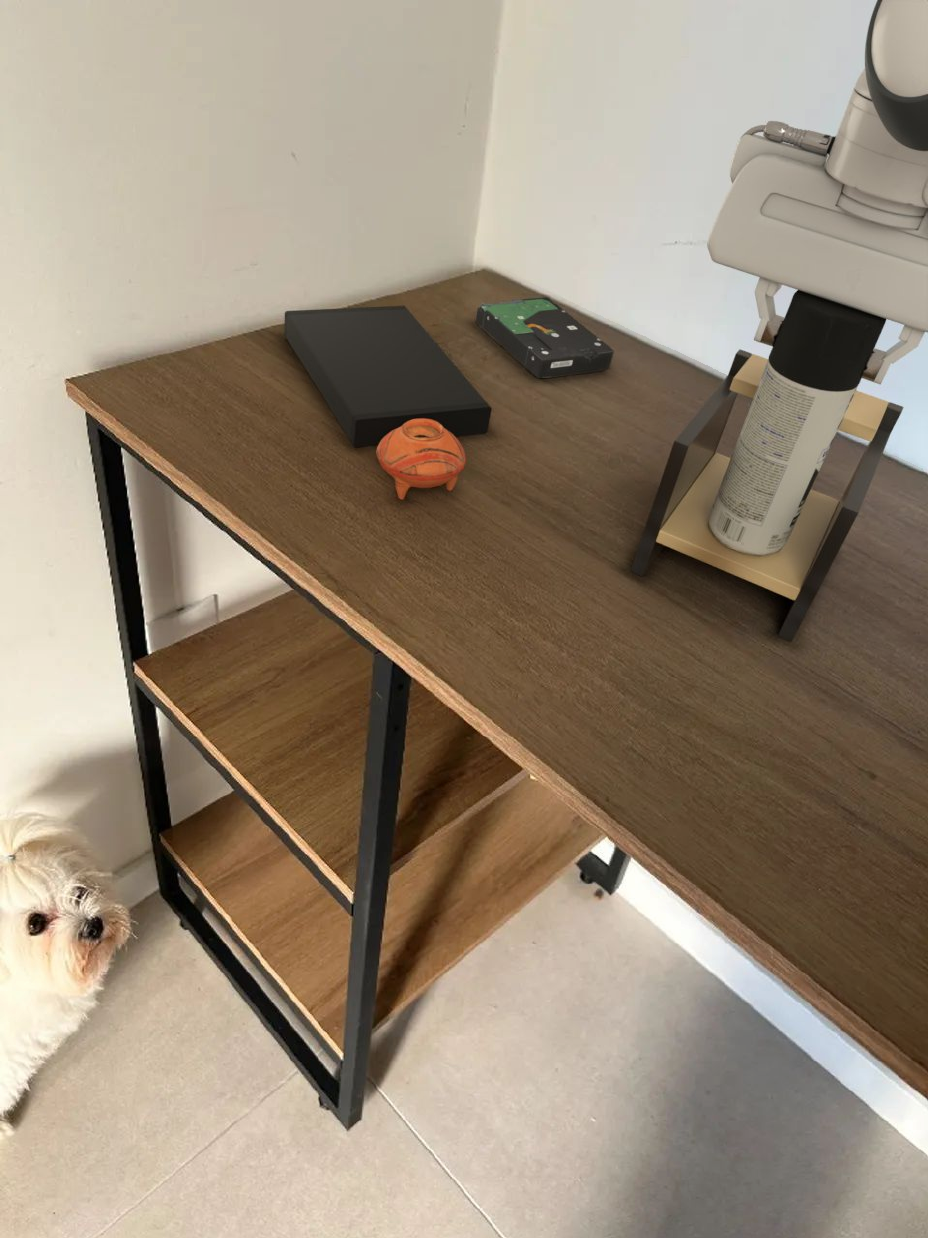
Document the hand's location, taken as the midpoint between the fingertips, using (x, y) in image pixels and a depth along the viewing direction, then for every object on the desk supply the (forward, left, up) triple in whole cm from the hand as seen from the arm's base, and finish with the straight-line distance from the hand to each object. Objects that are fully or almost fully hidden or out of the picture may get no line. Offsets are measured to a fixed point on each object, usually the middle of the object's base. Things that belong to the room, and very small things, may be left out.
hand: (817, 359), depth 67 cm
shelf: (0, -3, -21) cm, 21 cm away
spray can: (0, 0, -16) cm, 16 cm away
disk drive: (+32, -29, -21) cm, 48 cm away
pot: (+28, +6, -21) cm, 35 cm away
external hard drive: (+41, -8, -21) cm, 47 cm away
